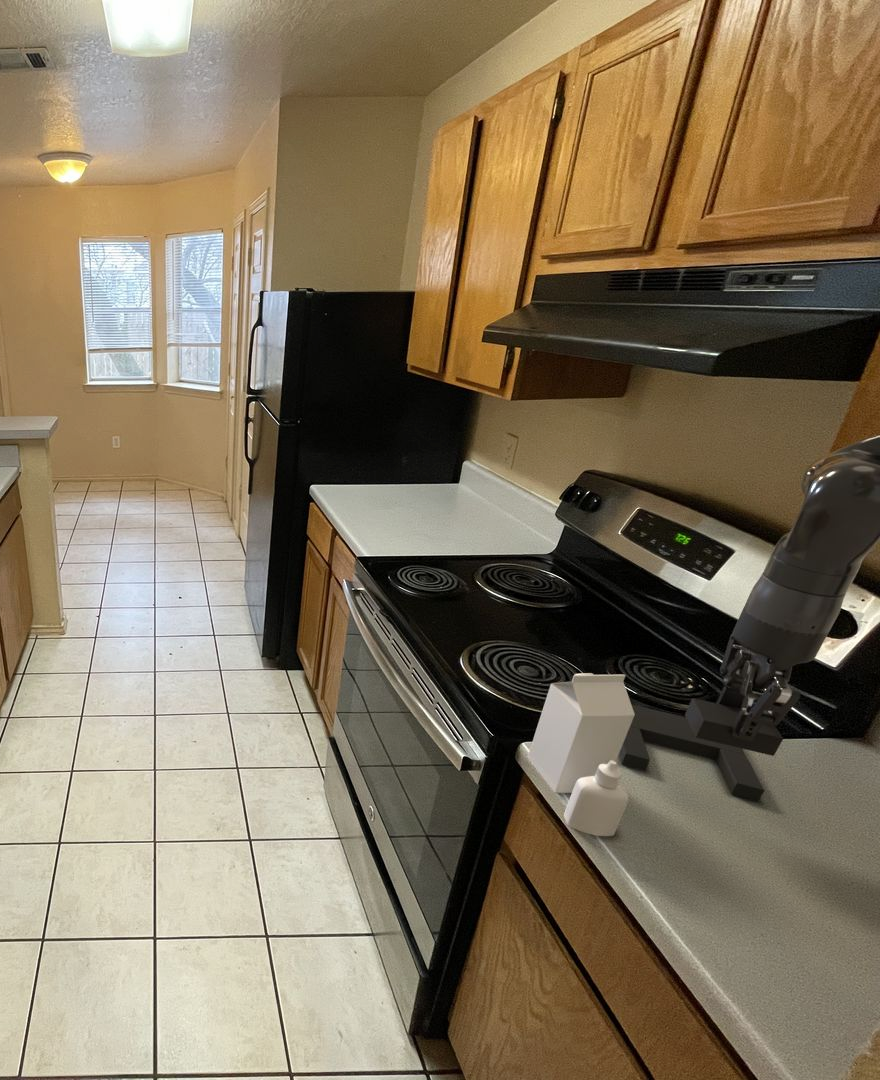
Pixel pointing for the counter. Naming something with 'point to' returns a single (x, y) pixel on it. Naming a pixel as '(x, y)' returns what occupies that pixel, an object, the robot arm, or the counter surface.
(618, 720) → the milk carton
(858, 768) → the counter surface
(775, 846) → the counter surface
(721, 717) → the small pad
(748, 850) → the counter surface
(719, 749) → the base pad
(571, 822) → the eye dropper bottle
